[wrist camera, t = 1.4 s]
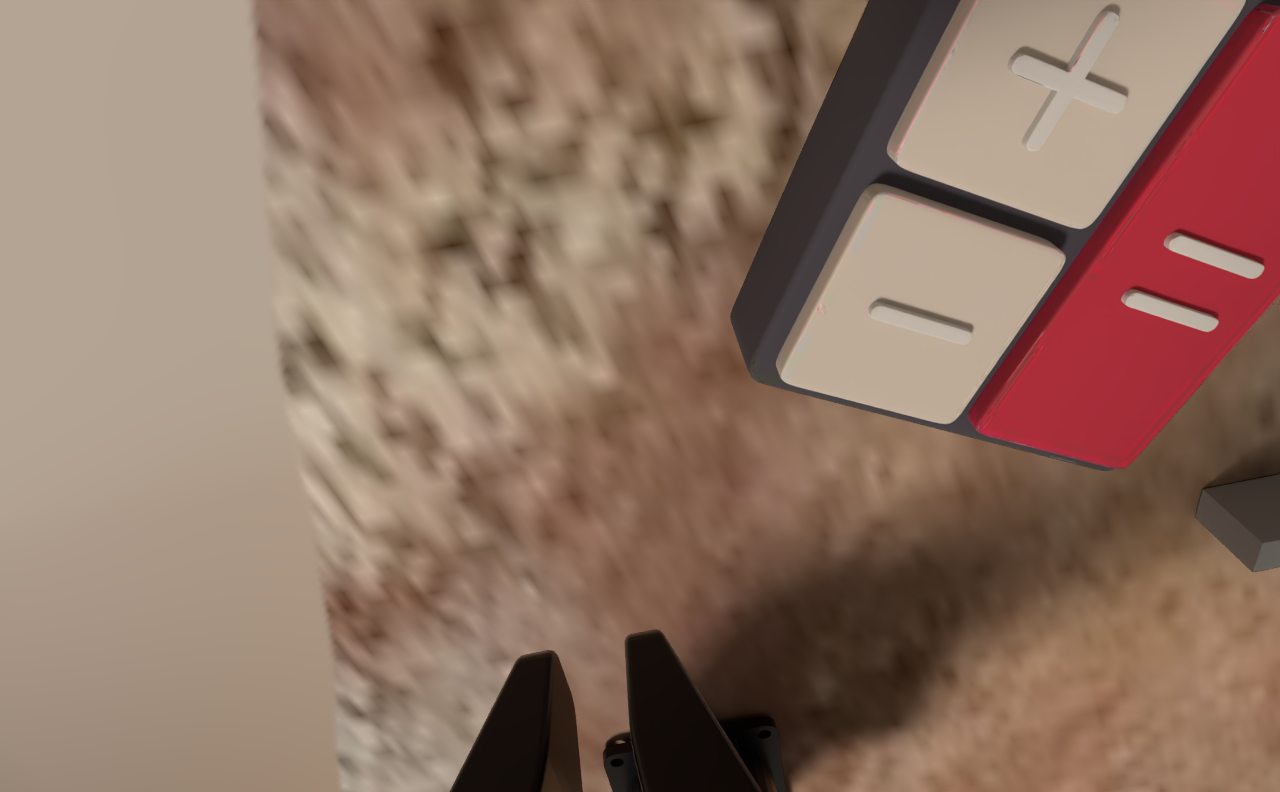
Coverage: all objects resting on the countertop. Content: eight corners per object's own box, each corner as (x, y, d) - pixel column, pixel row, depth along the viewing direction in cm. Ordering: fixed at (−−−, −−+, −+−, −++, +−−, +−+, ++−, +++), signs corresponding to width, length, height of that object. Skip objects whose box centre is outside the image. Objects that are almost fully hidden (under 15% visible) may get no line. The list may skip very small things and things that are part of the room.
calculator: (748, 400, 18) (1229, -545, 10) (718, 308, 21) (1054, -441, 13) (1132, 496, 20) (1750, -183, 12) (1049, 400, 24) (1490, -176, 16)
